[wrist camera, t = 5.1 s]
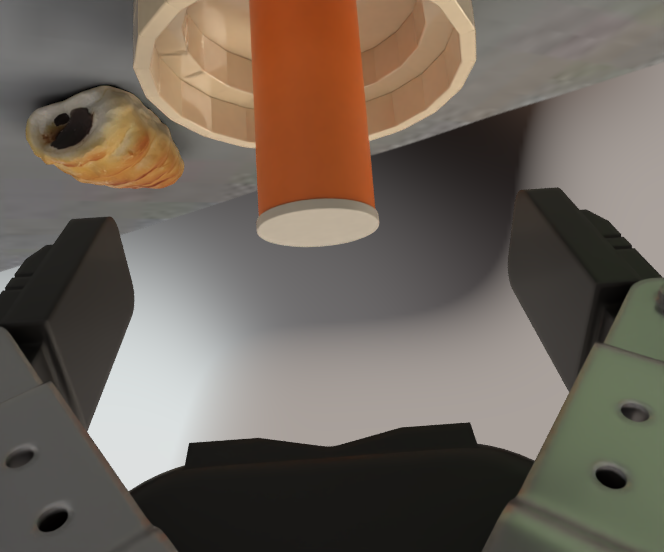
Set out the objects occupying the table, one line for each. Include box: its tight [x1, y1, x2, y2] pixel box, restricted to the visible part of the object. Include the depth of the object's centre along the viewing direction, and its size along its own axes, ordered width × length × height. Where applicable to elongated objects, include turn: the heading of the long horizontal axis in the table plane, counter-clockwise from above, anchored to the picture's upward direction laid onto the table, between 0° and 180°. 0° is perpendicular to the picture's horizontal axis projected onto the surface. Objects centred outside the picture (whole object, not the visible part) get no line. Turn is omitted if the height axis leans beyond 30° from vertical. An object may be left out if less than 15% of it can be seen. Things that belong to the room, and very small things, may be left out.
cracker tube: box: [249, 0, 379, 247], centre depth 24 cm, size 5×5×10 cm
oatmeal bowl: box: [133, 0, 476, 148], centre depth 25 cm, size 13×13×4 cm
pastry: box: [26, 86, 184, 189], centre depth 36 cm, size 9×7×4 cm
